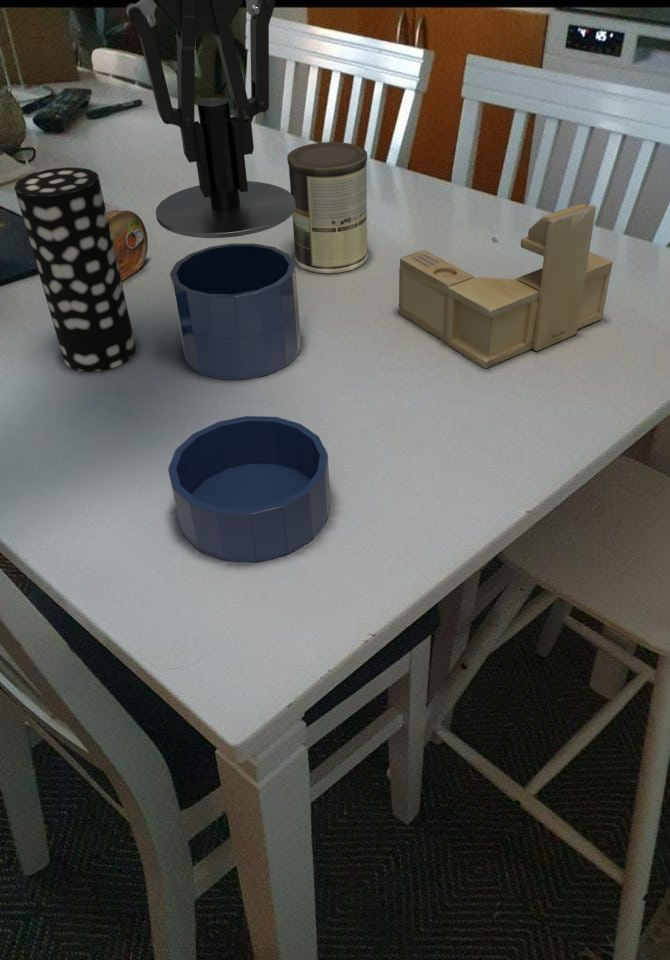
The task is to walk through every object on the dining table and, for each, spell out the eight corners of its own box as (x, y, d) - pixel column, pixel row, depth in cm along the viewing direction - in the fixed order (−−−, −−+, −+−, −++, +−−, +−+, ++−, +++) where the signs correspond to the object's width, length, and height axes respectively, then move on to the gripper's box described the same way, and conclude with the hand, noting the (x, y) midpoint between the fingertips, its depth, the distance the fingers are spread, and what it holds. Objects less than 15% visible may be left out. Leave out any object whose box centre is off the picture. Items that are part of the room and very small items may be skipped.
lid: (168, 253, 77) (146, 132, 70) (149, 201, 88) (128, 92, 81) (312, 230, 80) (306, 112, 73) (277, 183, 91) (268, 76, 84)
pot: (195, 389, 88) (181, 306, 82) (176, 332, 98) (162, 254, 92) (313, 366, 91) (308, 284, 84) (283, 313, 101) (277, 236, 94)
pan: (192, 578, 66) (182, 529, 63) (169, 479, 76) (159, 433, 73) (348, 540, 69) (347, 491, 65) (306, 450, 79) (302, 404, 75)
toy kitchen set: (509, 273, 107) (522, 156, 97) (607, 322, 96) (632, 195, 86) (397, 314, 100) (398, 191, 90) (488, 372, 89) (502, 239, 79)
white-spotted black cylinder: (114, 328, 99) (75, 161, 87) (149, 353, 94) (113, 180, 81) (51, 352, 95) (1, 181, 83) (83, 380, 90) (35, 202, 77)
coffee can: (280, 265, 112) (271, 160, 103) (319, 237, 118) (314, 137, 109) (344, 280, 107) (341, 172, 98) (381, 251, 114) (381, 147, 105)
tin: (83, 307, 104) (66, 244, 98) (64, 303, 105) (47, 240, 100) (154, 261, 114) (143, 202, 109) (136, 257, 115) (124, 198, 110)
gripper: (94, -80, 63) (149, 214, 78) (293, -94, 66) (309, 191, 81) (88, -88, 69) (140, 188, 84) (271, -101, 72) (290, 167, 87)
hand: (223, 189), depth 83 cm, fingers closed on lid, 3 cm apart
